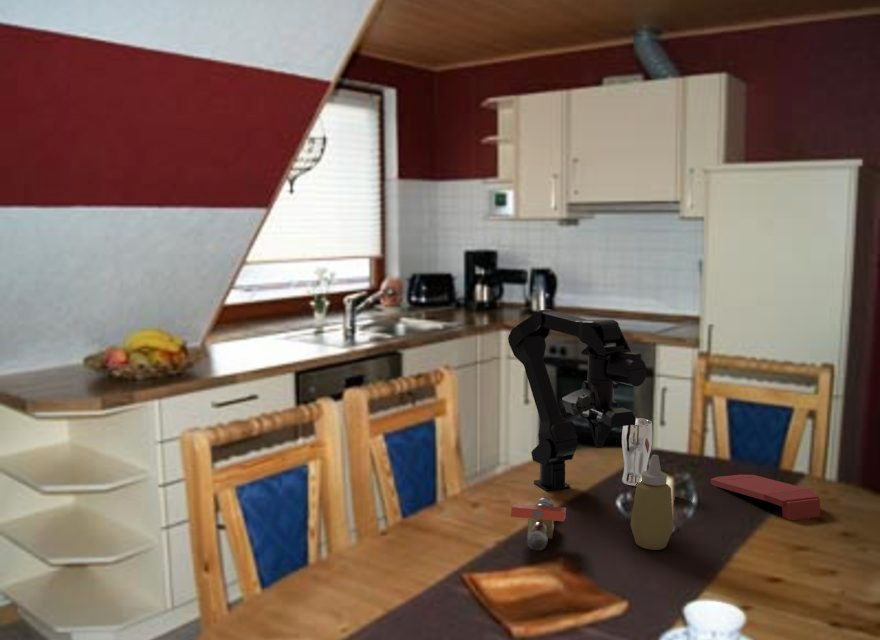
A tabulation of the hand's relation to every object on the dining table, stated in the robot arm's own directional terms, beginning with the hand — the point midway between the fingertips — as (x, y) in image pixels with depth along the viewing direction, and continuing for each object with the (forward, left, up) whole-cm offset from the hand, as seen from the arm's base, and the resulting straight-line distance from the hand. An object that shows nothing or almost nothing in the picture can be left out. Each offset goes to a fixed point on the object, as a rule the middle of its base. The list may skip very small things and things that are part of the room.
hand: (598, 447), depth 174 cm
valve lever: (+9, -19, -8) cm, 22 cm away
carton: (+10, +38, -14) cm, 42 cm away
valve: (+9, -19, -13) cm, 25 cm away
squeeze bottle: (+22, -2, -13) cm, 26 cm away
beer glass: (-9, +17, -13) cm, 23 cm away
